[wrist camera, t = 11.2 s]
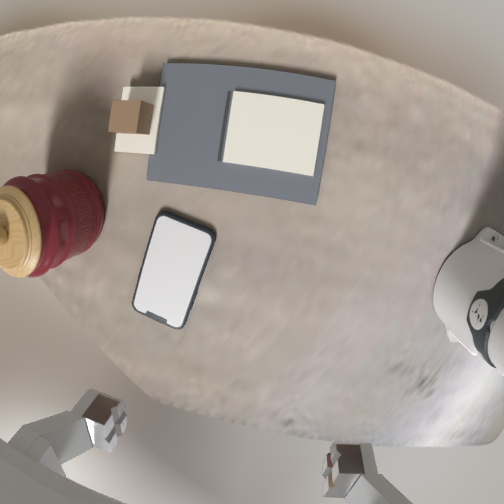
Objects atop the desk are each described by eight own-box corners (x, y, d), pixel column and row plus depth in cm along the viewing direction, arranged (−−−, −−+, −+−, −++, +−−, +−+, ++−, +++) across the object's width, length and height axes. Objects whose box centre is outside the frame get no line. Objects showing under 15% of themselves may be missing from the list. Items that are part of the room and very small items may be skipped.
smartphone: (161, 207, 43) (133, 304, 47) (156, 209, 41) (129, 309, 46) (220, 231, 43) (185, 327, 48) (218, 234, 42) (182, 333, 46)
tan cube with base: (165, 87, 37) (152, 80, 32) (155, 154, 39) (141, 154, 35) (125, 87, 37) (109, 81, 33) (116, 151, 39) (99, 151, 35)
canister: (44, 245, 46) (-30, 282, 29) (44, 167, 42) (-40, 181, 25) (106, 257, 45) (32, 306, 28) (108, 170, 41) (23, 184, 25)
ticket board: (334, 82, 35) (336, 79, 34) (314, 204, 40) (316, 206, 39) (166, 64, 37) (162, 61, 35) (149, 179, 41) (144, 180, 40)
